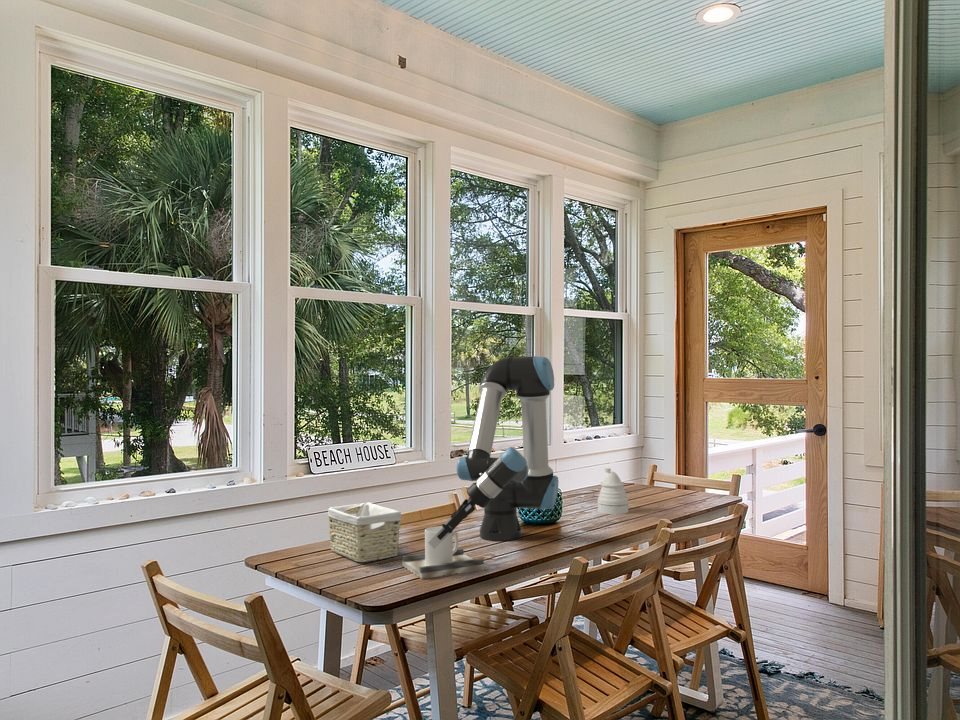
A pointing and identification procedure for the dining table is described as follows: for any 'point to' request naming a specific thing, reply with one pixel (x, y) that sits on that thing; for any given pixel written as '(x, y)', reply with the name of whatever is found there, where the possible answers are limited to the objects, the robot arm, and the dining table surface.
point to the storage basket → (364, 531)
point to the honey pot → (612, 495)
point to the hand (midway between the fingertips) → (434, 540)
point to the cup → (439, 547)
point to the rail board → (442, 565)
